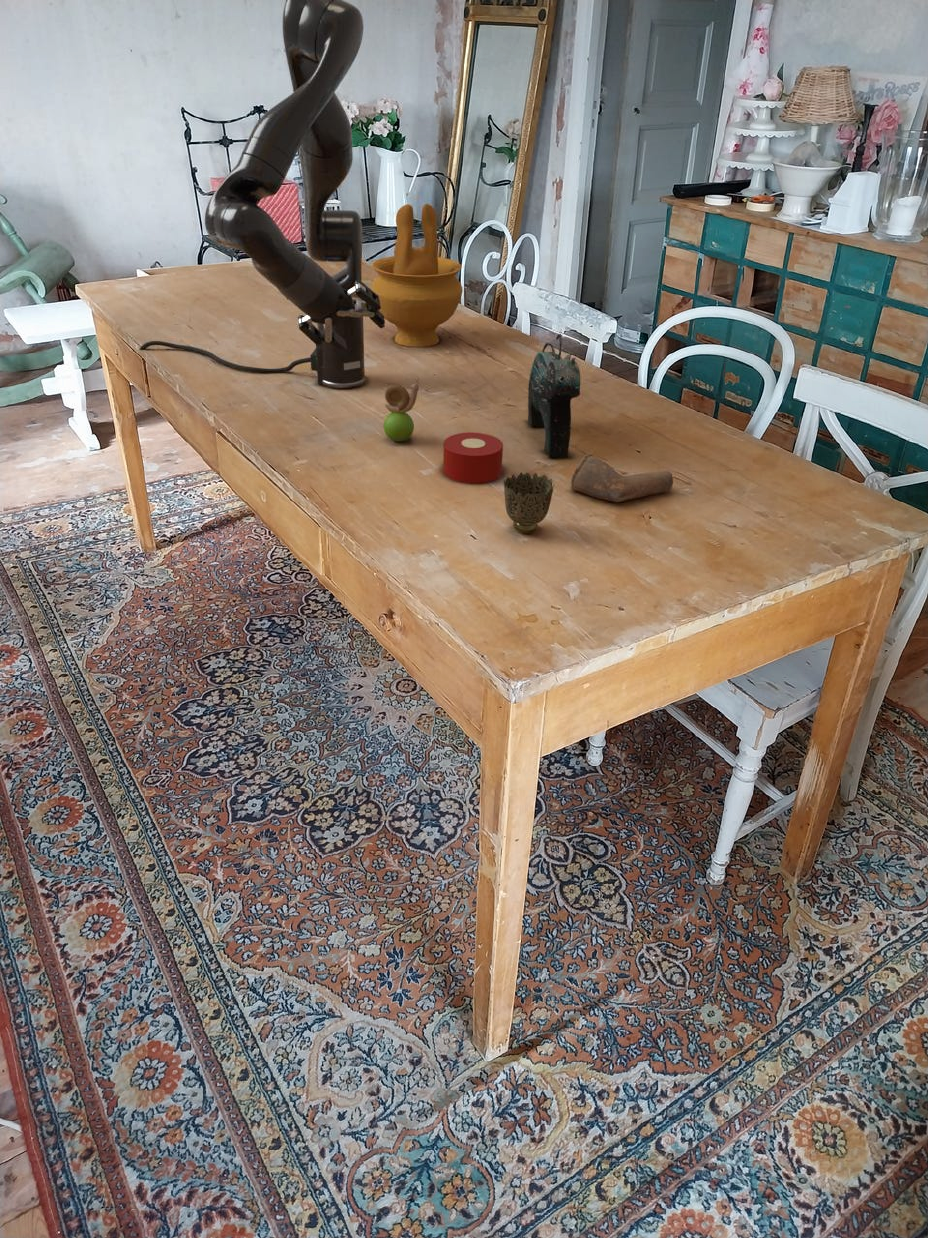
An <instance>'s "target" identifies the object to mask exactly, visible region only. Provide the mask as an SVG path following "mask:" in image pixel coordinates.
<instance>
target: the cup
mask: <svg viewBox="0 0 928 1238" xmlns="http://www.w3.org/2000/svg"><path fill="white" fill-rule="evenodd" d="M503 487H504V488H503V489H504V503H505V511H506V513H507V516H508V518H509V519H510V520H511V521H512V522H513V527H514V530H515V531H516V532H518V533H521V534H527V535H528V534H533V533H535V532H536V531H537V529H538V528H539V523H541V522H542V521H544V519H545V518H546V516H547V515H548V512H549V509H550V505H551V501H552V497H553V493H554V488H555V484H553V479H552V478H549V477H548V476H547V475H546V474H542V475H541V476H539V475H538V473H537V472H534V473H533V474H532V475H531V473H529V472H528V471H526V472H522V471H521V472H520V473H519V474H518V475H517V476H516V475H515V473H512V474H511V477H510V476H508V475H506V476H505V479H504V480H503Z"/></svg>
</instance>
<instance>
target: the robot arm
mask: <svg viewBox="0 0 928 1238" xmlns="http://www.w3.org/2000/svg"><path fill="white" fill-rule="evenodd" d="M281 27H282V39H283V46H284V52H285V56H286V62H287V68H288V71H289V77H290V81H291V87H292V93H291V94H290V95H288V96H287V97H285V98H283V100H281V101H280V102H278V103H277V104H276V105H274V106H273V107H271V108H270V109H269V110H267V111H266V112H265V113H264V114H263V115H262V116H261V117H260V118H259V119H258V121H257V122H256V124H255V125H254V126H253V129H252V131H251V133H250V135H249V136H248V139H247V141H246V144H245V145H244V148H243V150H242V151H241V154H240V157H239V159H238V161H237V163H236V165H235V166H234V167H233V168H232V170H231V171H230V172H229V173H228V174H227V175H226V177H225V178H224V179H223V181H222V182H221V183H220V184H219V185H218V187H217V189H215V191H214V192H213V194H212V196H211V197H210V199H209V201H208V202H207V206H206V209H205V213H204V227H205V230H206V233H207V235H208V236H209V238H210V239H211V240H212V241H214V242H215V243H216V244H219V245H221V246H223V247H224V246H225V247H229V248H232V249H235V250H238V251H241V252H242V253H244V254H245V255H247V256H248V257H249V258H251V263H252V266H253V267H254V269H255V270H256V271H257V272H258V273H259V274H260V275H261V276H262V277H263V278H264V279H266V280H267V281H268V282H269V283H270V284H272V286H274V287H275V288H276V289H277V290H278V291H279V292H280V294H281V295H282V296H284V297H285V298H286V299H287V300H288V301H289V302H290V303H292V304H293V305H294V306H295V307H297V308H298V309H299V310H300V311H301V312H302V313H304V314H305V315H304V314H303V315H302V314H300V315H298V316H297V323H298V329H299V331H301V332H302V333H303V334H304V335H305V336H306V337H307V338H308V339H309V340H310V341H311V342H313V343H314V344H315V349H314V350H313V352H311V354H310V357H305V358H299V359H296V360H294V361H292V362H291V363H290V364H289V365H287V366H285V367H279V368H263V367H254V366H246V365H241V364H237V363H233V362H230V361H229V360H228V361H227V360H225V359H223V358H220V357H219V356H217V355H215V354H214V353H213V352H210V351H208V350H205V349H202V348H198V347H194V346H192V345H191V346H190V345H183V344H177V343H171V342H168V341H167V342H166V341H161V340H150V341H147V342H145V343H143V344H142V345H140V347H139V351H144V350H146V349H147V348H149V347H152V346H162V347H166V348H172V349H176V350H182V351H183V350H184V351H191V352H194V353H198V354H201V355H204V356H207V357H209V358H211V359H212V360H213V361H215V362H217V363H219V364H221V365H223V366H226V367H229V368H232V369H236V370H239V371H244V372H245V371H246V372H253V373H261V374H281V373H286V372H287V373H288V372H290V371H292V370H293V369H294V368H295V367H296V366H298V365H302V364H307V363H310V371H315V372H316V373H317V374H316V375H317V385H323V386H324V387H325V386H326V387H328V388H334V389H352V388H357V387H360V386H362V385H364V384H365V383H366V375H365V374H366V369H365V337H364V333H365V332H364V317H366V318H369V319H370V321H372V322H373V323H374V324H375V325H376V326H377V327H378V328H379V329H383V328H385V324H386V319H385V318H384V315H383V314H382V313H381V312H380V311H379V310H380V309H381V306H380V300H379V296H378V295H377V294H376V293H374V292H373V291H372V290H371V289H370V288H368V287H367V286H366V285H365V284H364V283H363V282H362V280H363V275H362V274H363V271H362V269H363V268H362V263H363V261H362V260H363V224H362V219H361V216H360V214H359V213H358V211H355V210H347V209H342V210H341V209H326V210H325V207H326V205H327V203H328V201H329V200H330V198H331V197H332V196H333V194H334V193H335V192H336V191H337V190H338V189H339V187H340V186H342V184H343V182H344V181H345V179H346V178H347V176H348V175H349V173H350V171H351V168H352V166H353V159H354V158H353V157H354V155H353V154H354V153H353V130H352V126H351V122H350V119H349V117H348V115H347V112H346V110H345V108H344V107H343V104H342V102H341V101H340V99H339V98H338V97H339V96H337V93H336V91H337V89H338V88H339V86H340V85H341V83H342V82H343V81H344V78H345V77H346V76H347V74H348V73H349V71H350V69H351V67H352V66H353V64H354V62H355V61H356V58H357V56H358V53H359V51H360V48H361V45H362V41H363V36H364V18H363V15H362V13H361V11H360V10H359V8H358V7H356V6H355V5H353V4H352V3H350V2H348V1H346V0H285V3H284V7H283V13H282V26H281ZM297 153H298V157H299V164H300V170H301V179H302V187H303V205H304V206H303V212H304V213H303V214H304V215H303V216H304V219H303V220H304V241H305V246H306V247H305V248H306V252H307V254H308V255H306V254H305V253H304V252H303V251H301V250H300V249H299V248H298V247H297V246H296V245H295V244H294V243H293V242H292V241H290V240H289V239H288V238H287V237H286V236H285V235H284V233H283V230H282V229H281V228H280V227H279V226H278V224H277V223H276V222H275V220H274V219H273V217H272V216H271V215H270V214H269V213H268V212H267V211H266V210H264V209H263V208H262V207H261V206H259V205H258V204H259V203H260V202H261V201H262V200H263V199H265V198H269V197H274V196H275V195H276V194H278V192H279V191H280V189H281V188H282V185H283V183H284V181H285V179H286V177H287V175H288V173H289V172H290V168H291V167H292V164H293V162H294V160H295V157H296V156H297ZM317 262H322V263H323V262H324V263H325V262H326V263H327V262H328V263H345V266H344V267H343V268H342V269H340V270H339V271H338V272H336V273H334V274H333V273H332V274H331V275H330V274H329V273H328V272H327V271H326V270H324V269H323V268H322V267H321V265H319V263H317ZM363 308H367V310H366V309H363ZM313 323H315V324H317V327H316V326H315V325H314V324H313Z"/></svg>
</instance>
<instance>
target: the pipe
mask: <svg viewBox="0 0 928 1238" xmlns="http://www.w3.org/2000/svg"><path fill="white" fill-rule="evenodd" d="M570 484H571V486H570V488H571V489H572V490H573V491H576V492H580V493H582V494H585V495H588V496H590V497H593V498H594V499H595V498H596V499H600V500H604V501H609V502H613V503H621V502H624V501H628V500H634V499H639V498H643V497H647V496H651V495H657V494H662V493H666V492H669V491H670V490H671V489H672V487H673V485H674V477H673V473H672V472H671V471H669V470H657V471H647V472H641V473H633V474H628V475H624V474H620V473H619V472H617V470H615V468H613V467H611V466H610V465H608V464H607V463H606V461H603V460H602V459H600V458H597V457H595V455H594V454H592V453H587V454H585V455H584V456H582V458H581V460H580V461H579V462H578V465H577V466H576V468H575V470H574V473H573V474H572V477H571V482H570Z"/></svg>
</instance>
